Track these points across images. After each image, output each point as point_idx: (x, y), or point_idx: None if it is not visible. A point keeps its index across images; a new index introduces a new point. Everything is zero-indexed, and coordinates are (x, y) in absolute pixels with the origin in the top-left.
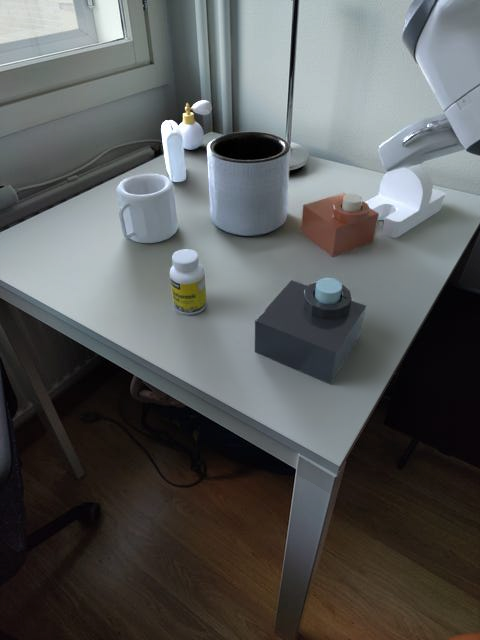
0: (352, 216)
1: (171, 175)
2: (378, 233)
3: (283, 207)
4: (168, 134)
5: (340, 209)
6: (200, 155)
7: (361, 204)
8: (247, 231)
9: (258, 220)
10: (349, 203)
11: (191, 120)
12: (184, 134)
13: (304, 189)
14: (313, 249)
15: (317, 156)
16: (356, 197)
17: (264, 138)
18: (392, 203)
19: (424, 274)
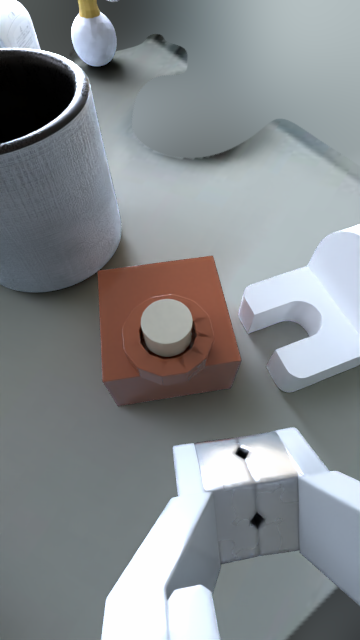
0: (144, 372)
1: None
2: (259, 363)
3: (75, 255)
4: None
5: (132, 335)
6: (99, 79)
7: (185, 343)
8: (1, 283)
9: (10, 273)
10: (146, 337)
11: (89, 9)
12: (76, 36)
13: (200, 193)
14: (99, 366)
15: (276, 121)
16: (177, 320)
17: (64, 77)
18: (321, 305)
19: (280, 562)
